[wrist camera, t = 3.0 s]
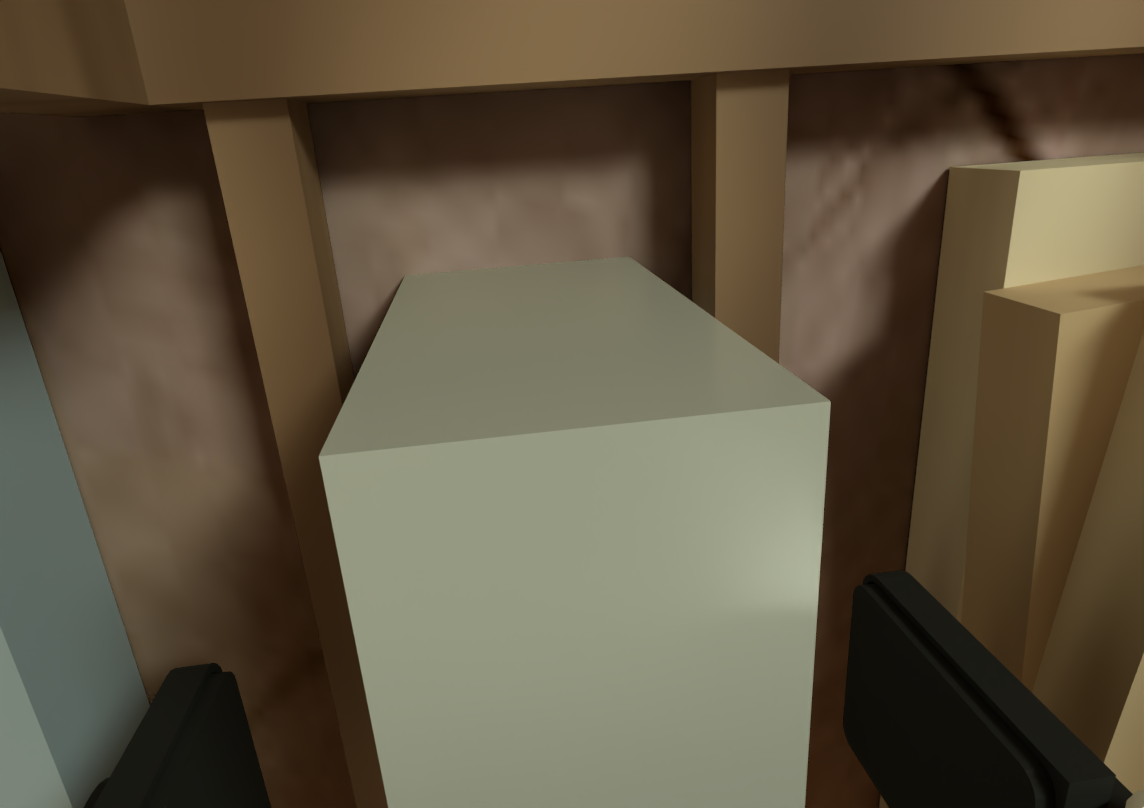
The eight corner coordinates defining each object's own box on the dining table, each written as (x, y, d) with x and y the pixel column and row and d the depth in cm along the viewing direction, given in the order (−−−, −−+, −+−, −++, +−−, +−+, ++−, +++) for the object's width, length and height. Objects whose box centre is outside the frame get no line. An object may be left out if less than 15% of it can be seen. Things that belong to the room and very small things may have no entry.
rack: (1490, -71, 12) (2451, -271, 6) (1196, 849, 18) (1513, 1157, 13) (44, -9, 9) (-591, -233, 4) (323, 1009, 16) (247, 1465, 11)
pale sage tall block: (627, 255, 12) (831, 401, 5) (647, 815, 16) (773, 1290, 9) (405, 274, 11) (318, 456, 5) (485, 842, 15) (497, 1356, 9)
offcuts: (1242, 145, 12) (1646, 146, 8) (1089, 781, 17) (1291, 989, 13) (932, 168, 12) (1191, 183, 7) (865, 819, 16) (999, 1050, 12)
